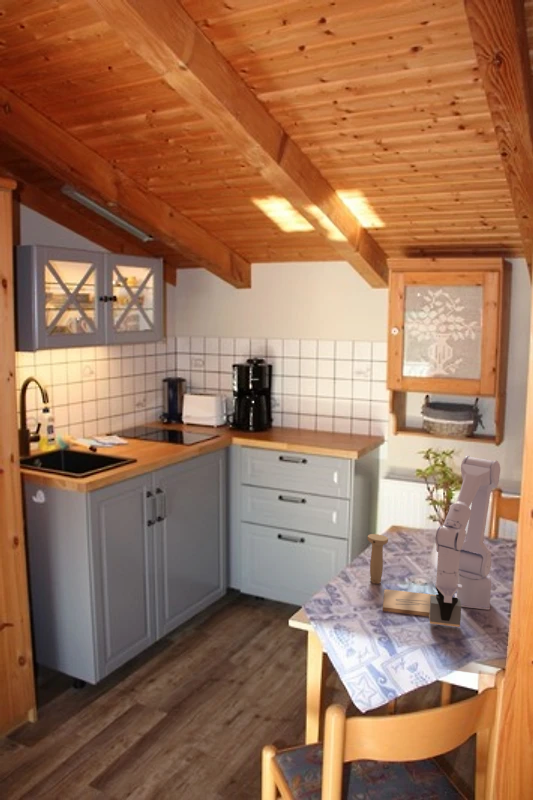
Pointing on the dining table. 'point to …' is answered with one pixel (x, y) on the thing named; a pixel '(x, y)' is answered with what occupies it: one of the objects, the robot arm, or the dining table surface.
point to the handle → (376, 557)
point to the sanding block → (436, 616)
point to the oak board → (407, 602)
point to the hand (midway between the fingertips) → (444, 615)
